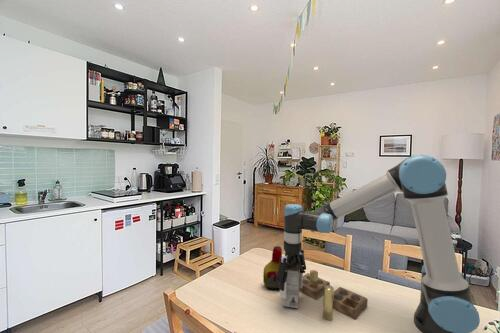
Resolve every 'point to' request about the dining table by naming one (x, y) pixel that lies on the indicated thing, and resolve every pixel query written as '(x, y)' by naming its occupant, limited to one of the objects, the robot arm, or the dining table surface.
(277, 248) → the bottle
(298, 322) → the dining table surface
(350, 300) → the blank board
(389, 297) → the dining table surface
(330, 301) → the peg
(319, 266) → the dining table surface
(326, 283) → the board
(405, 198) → the robot arm
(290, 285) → the coffee box
